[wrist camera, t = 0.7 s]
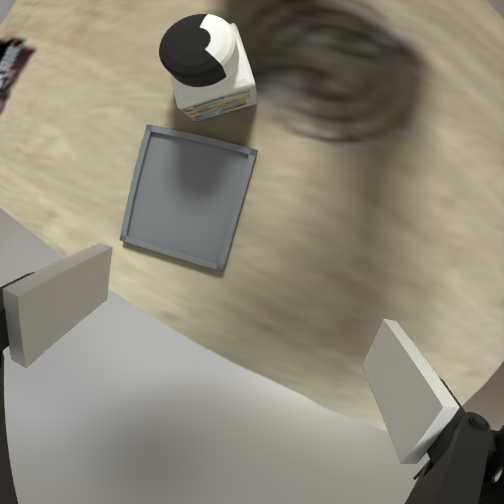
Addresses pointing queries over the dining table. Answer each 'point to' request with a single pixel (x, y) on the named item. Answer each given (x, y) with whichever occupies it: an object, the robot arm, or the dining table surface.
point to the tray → (187, 195)
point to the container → (207, 66)
